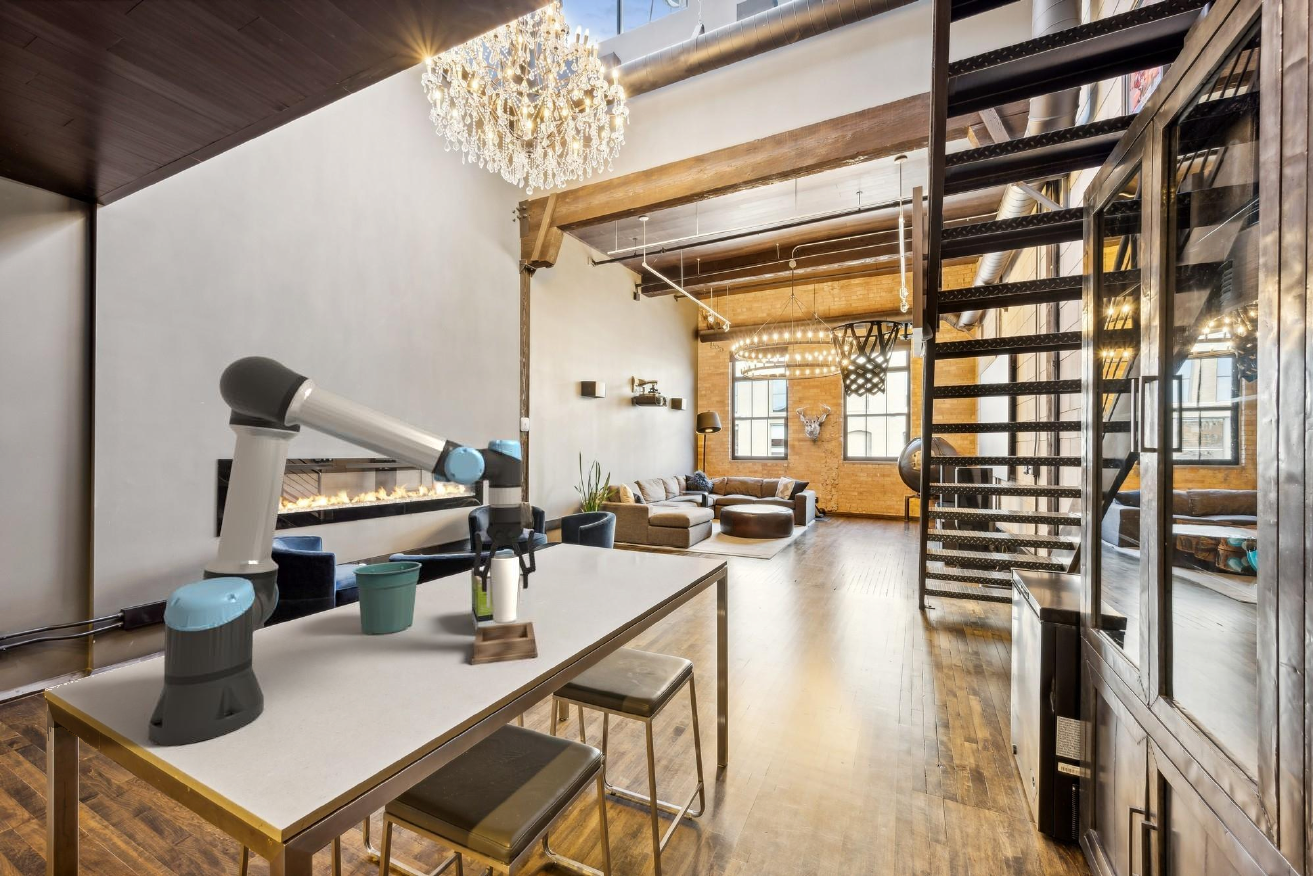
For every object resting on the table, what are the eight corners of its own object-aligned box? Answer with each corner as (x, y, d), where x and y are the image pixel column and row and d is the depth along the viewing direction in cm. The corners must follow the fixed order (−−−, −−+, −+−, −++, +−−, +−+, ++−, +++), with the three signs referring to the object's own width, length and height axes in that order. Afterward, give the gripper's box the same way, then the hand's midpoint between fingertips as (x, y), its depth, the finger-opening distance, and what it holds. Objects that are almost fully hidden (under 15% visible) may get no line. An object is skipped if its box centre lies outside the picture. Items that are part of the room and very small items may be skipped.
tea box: (470, 620, 147) (470, 567, 148) (507, 615, 151) (507, 563, 152) (476, 637, 133) (476, 578, 134) (517, 631, 138) (517, 573, 138)
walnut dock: (471, 664, 115) (471, 646, 115) (475, 643, 129) (475, 626, 129) (537, 657, 119) (537, 639, 119) (534, 637, 133) (534, 621, 133)
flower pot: (365, 620, 148) (366, 562, 149) (427, 616, 151) (428, 559, 152) (341, 640, 132) (342, 575, 132) (412, 635, 135) (412, 571, 135)
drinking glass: (484, 624, 122) (484, 558, 122) (499, 616, 128) (499, 553, 129) (510, 626, 120) (510, 559, 121) (525, 617, 127) (525, 554, 127)
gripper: (546, 502, 131) (546, 596, 131) (462, 505, 126) (461, 603, 125) (548, 505, 124) (548, 604, 123) (459, 508, 119) (459, 612, 118)
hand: (505, 604), depth 124 cm, fingers closed on drinking glass, 7 cm apart
